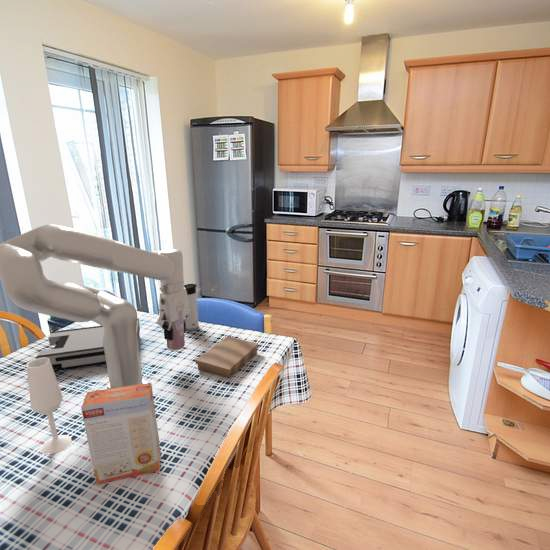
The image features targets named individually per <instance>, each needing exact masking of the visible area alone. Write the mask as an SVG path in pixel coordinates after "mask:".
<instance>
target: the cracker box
mask: <svg viewBox="0 0 550 550" xmlns="http://www.w3.org/2000/svg"><path fill="white" fill-rule="evenodd" d="M153 393H154V392H153V385H152V382H148V383H145V384H138V385H131V386H125V387H118V388H112V389H107V388H104V389H98V390H93V391H92V390H91V391H87V392H86V394H85V397H84V400H83V402H82V405H81V407H80V408H81V413H82V419H83V422H84V429H85V434H86V439H87V444H88V449H89V454H90V455H89V456H90V460H91V465H92V469H93V474H94V479H95V483H96V484H102V483H106V482H113V481H116V480H121V479H126V478H131V477H136V476H139V475H140V476H141V475H145V474H150V473H153V472H154V473H155V472H159V471H161V469H160V468H161V455H162V452H161V445H160V436H159V430H158V422H157V416H156V407H155V401H154V400H155V399H154V394H153Z"/></svg>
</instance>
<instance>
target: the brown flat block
mask: <svg viewBox="0 0 550 550" xmlns="http://www.w3.org/2000/svg"><path fill="white" fill-rule="evenodd" d="M259 345H260V344H259V343H258V342H254V341H249V340H246V339H241V338H238V337H233V336H229V335H227V336H226V337H224V338H223V339H222V340H219V341H218V342H217V343H216V344H215V345H213V346H212V347H210V348H209V349H208V350H207V351H204V352H203V354H201V355H199V356H198V357H197V358H196V359H194V360H195V365H197V370H198V371H202V372H205V373H209V374H211V375H214V376H218V377H222V378H225V379H228V380H230V379H231V378H232V377H234V375H236V373H238V371H240V370H241V369H242V368H243V367H244V366H246V364H247V363H248V362H250V361H251V359H252V358H254V357H255V356H256V355H257V354H258V348H260V347H259Z"/></svg>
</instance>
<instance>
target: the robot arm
mask: <svg viewBox="0 0 550 550" xmlns="http://www.w3.org/2000/svg"><path fill="white" fill-rule="evenodd" d="M183 257H184V256H183V252H182V251H181V250H180V249H178V248H164V249H162V250H155V251H154V250H152V251H150V250H149V251H148V250H145V249H142V248H138V247H135V246H131V245H128V244H126V243H123V242H122V241H121V242H120V241H118V240H115V239H111V238H108V237H104V236H101V235H98V234H97V235H96V234H92V233H90V232H86V231H83V230H79V229H75V228H72V227H69V226H68V227H67V226H63V225H60V224H59V225H58V224H53V223H49V224H44V225H41V226H38V227H35V228H34V229H31V230H29V231H26V232H24V233H22V234H20V235H17V236H15V237H12V238H9V239H8V240H6V241H3V242H1V243H0V280H1V281H2V282H3V285H4V288H5V290H6V293H7V296H8V297H9V299H10V300H11V301H12V302H13V303H14V304H15V305H16V306H17V307H19V308H20V309H23V310H25V311H29V312H33V313H37V314H42V315H46V316H49V317H54V318H58V319H64V320H68V321H70V322H75V323H87V322H93V323H96V324H98V326H103V328H104V338H103V347H104V353H105V358H106V364H105V365H106V368H107V369H106V370H107V376H108V382H109V384H108V385H106V389H112V388H118V387H125V386H131V385H138V384H145V383H149V382H148V381H147V380H146V379H143V371H142V365H141V356H140V347H139V348H138V341H137V319H138V312H137V309H136V308H135V306H134V305H133V303H131V301H128V300H127V299H124V298H122V297H119V296H117V295H114V294H113V293H109V292H107V291H102V290H100V289H96V288H92V287H89V286H86V285H82V284H78V283H75V282H70V281H69V282H62V283H60V282H58V281H55V280H50V279H48V278H47V277H46V276H45V274H44V271H43V270H44V269H43V266H42V264H41V262H43V261H46V260H47V259H49V258H54V259H57V260H60V261H64V262H68V263H73V264H79V265H82V266H83V265H84V266H88V267H93V268H98V269H102V270H108V271H111V272H115V273H121V274H122V273H124V274H127V275H128V274H129V275H132V276H136V277H137V276H138V277H142V278H146V279H152V280H157V281H160V283H159V284H160V287H159V291H160V292H159V301H158V302H159V303H158V305H159V306H158V310H159V317H158V318H157V321H156V325H158V326H159V327H160V328H161V329H163V335H164V339H165V340H166V341H167V340H170V341H171V340H173V335H172V329H171V325H172V322H175V321H177V320H178V319H179V313H178V312H179V309H180V310H182V314H183V320H184V334H186V332H187V330H186V321H187V319H186V318H187V316H188V314H189V311H190V307H189V302H188V296H187V291H186V288H185V287H184V285H185V279H184V278H185V277H184V276H185V275H184V258H183ZM166 319H167V320H166ZM167 322H168V325H166V323H167Z"/></svg>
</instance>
